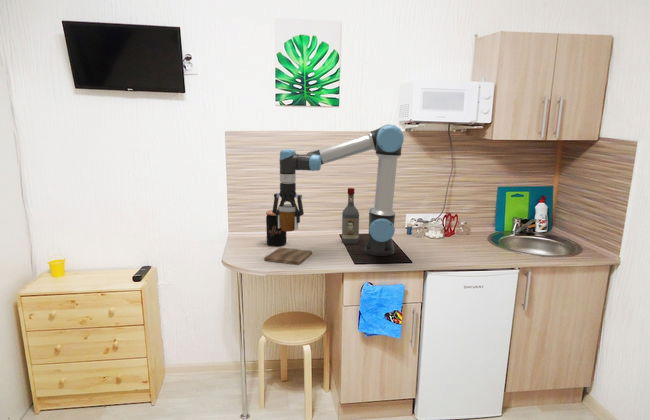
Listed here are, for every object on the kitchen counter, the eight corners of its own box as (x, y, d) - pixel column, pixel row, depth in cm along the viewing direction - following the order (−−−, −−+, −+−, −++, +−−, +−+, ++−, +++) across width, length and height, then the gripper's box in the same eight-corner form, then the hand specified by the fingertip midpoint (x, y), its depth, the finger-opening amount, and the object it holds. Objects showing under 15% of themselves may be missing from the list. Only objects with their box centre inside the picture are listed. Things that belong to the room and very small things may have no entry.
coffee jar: (262, 245, 237) (262, 212, 233) (274, 240, 246) (273, 208, 242) (279, 247, 232) (278, 214, 228) (290, 242, 241) (289, 210, 237)
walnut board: (312, 253, 222) (312, 250, 222) (299, 265, 206) (299, 261, 205) (279, 250, 228) (279, 247, 227) (264, 261, 211) (264, 258, 211)
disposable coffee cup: (294, 233, 208) (294, 208, 206) (275, 231, 210) (275, 207, 207) (300, 228, 217) (300, 204, 215) (281, 226, 219) (281, 203, 216)
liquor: (342, 239, 248) (342, 187, 242) (358, 239, 248) (359, 187, 241) (341, 243, 239) (342, 189, 233) (358, 244, 239) (359, 190, 232)
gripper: (264, 182, 208) (265, 228, 213) (305, 184, 202) (305, 232, 207) (271, 180, 215) (271, 224, 220) (311, 182, 209) (310, 228, 214)
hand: (288, 228), depth 213 cm, fingers closed on disposable coffee cup, 8 cm apart
